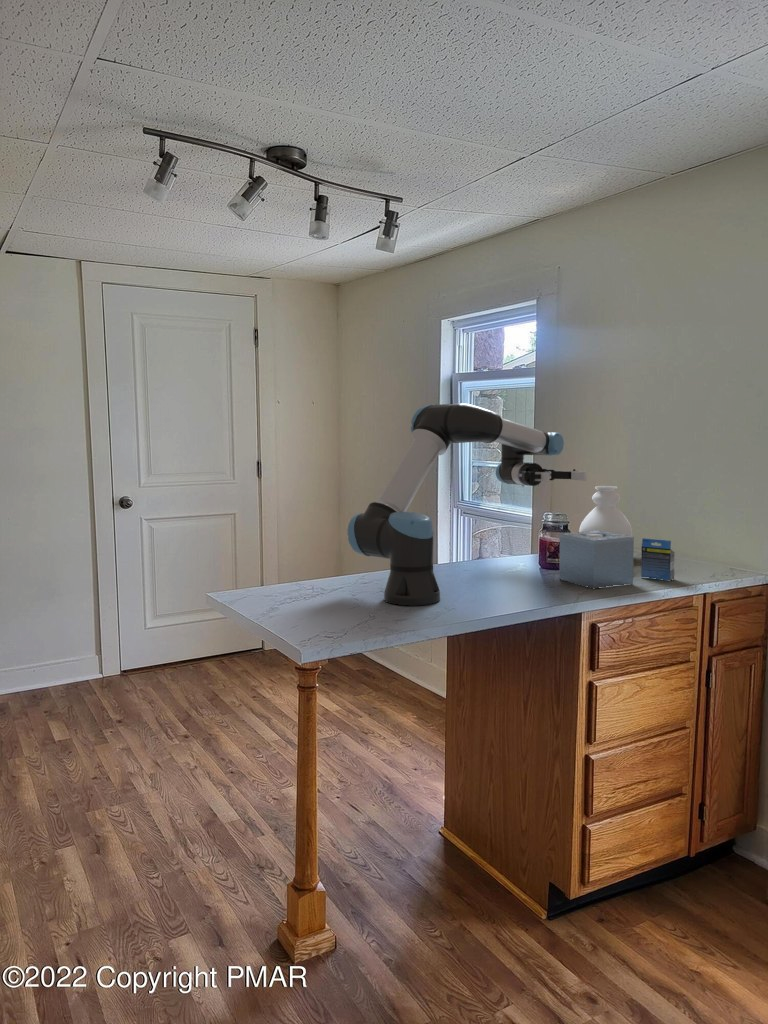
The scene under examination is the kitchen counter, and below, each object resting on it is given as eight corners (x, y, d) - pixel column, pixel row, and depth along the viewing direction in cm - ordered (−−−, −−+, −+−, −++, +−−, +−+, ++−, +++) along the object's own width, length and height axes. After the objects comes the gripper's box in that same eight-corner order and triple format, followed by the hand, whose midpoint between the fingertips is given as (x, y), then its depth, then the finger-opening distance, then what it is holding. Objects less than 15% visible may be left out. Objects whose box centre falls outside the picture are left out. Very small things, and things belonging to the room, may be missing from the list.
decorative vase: (625, 553, 267) (626, 484, 264) (637, 561, 249) (638, 488, 247) (575, 553, 269) (575, 485, 266) (583, 562, 251) (584, 488, 248)
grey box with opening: (593, 589, 208) (594, 540, 207) (559, 579, 223) (559, 533, 221) (632, 584, 213) (633, 536, 212) (596, 575, 228) (597, 530, 227)
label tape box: (674, 579, 220) (675, 538, 218) (670, 581, 216) (671, 540, 215) (645, 576, 225) (646, 536, 224) (640, 578, 222) (641, 538, 221)
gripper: (559, 484, 250) (599, 487, 230) (495, 486, 240) (532, 490, 221) (559, 462, 249) (600, 463, 229) (495, 463, 239) (532, 465, 220)
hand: (567, 476), depth 225 cm, fingers open, 13 cm apart
